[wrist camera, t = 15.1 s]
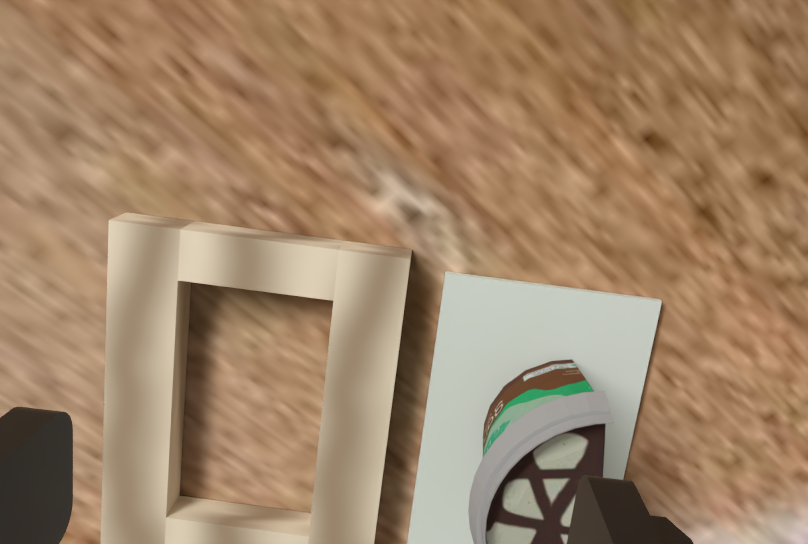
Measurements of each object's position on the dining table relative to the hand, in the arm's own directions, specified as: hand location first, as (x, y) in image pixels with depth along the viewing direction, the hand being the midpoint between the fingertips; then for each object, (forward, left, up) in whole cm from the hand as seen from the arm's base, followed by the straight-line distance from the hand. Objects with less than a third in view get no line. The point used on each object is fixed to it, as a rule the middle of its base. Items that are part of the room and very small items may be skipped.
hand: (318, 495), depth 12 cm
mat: (-9, +13, -30) cm, 34 cm away
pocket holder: (+7, +13, -30) cm, 33 cm away
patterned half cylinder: (-8, +13, -30) cm, 33 cm away
